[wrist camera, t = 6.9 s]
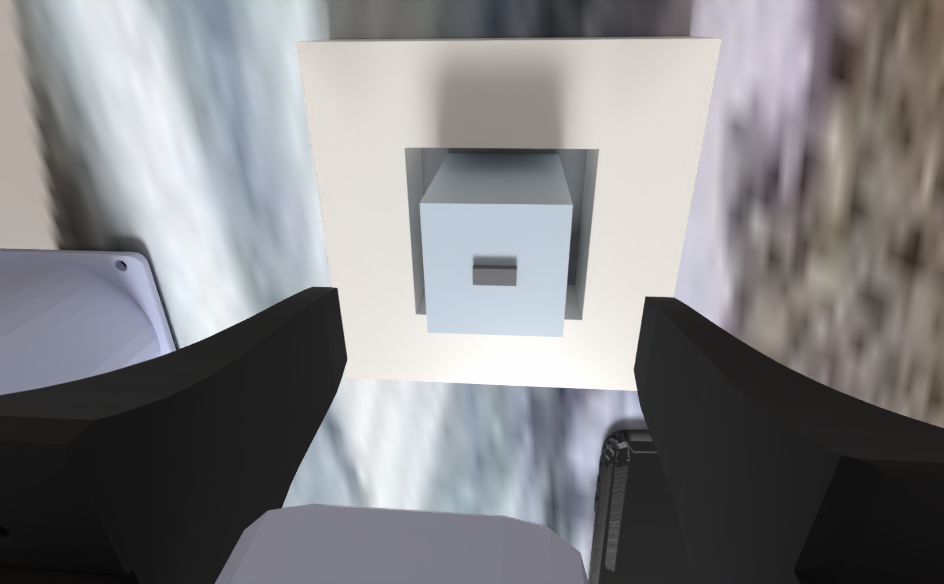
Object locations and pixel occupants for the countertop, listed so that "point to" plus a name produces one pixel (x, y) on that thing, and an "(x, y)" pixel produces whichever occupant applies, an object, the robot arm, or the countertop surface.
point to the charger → (497, 245)
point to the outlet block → (506, 132)
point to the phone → (635, 517)
